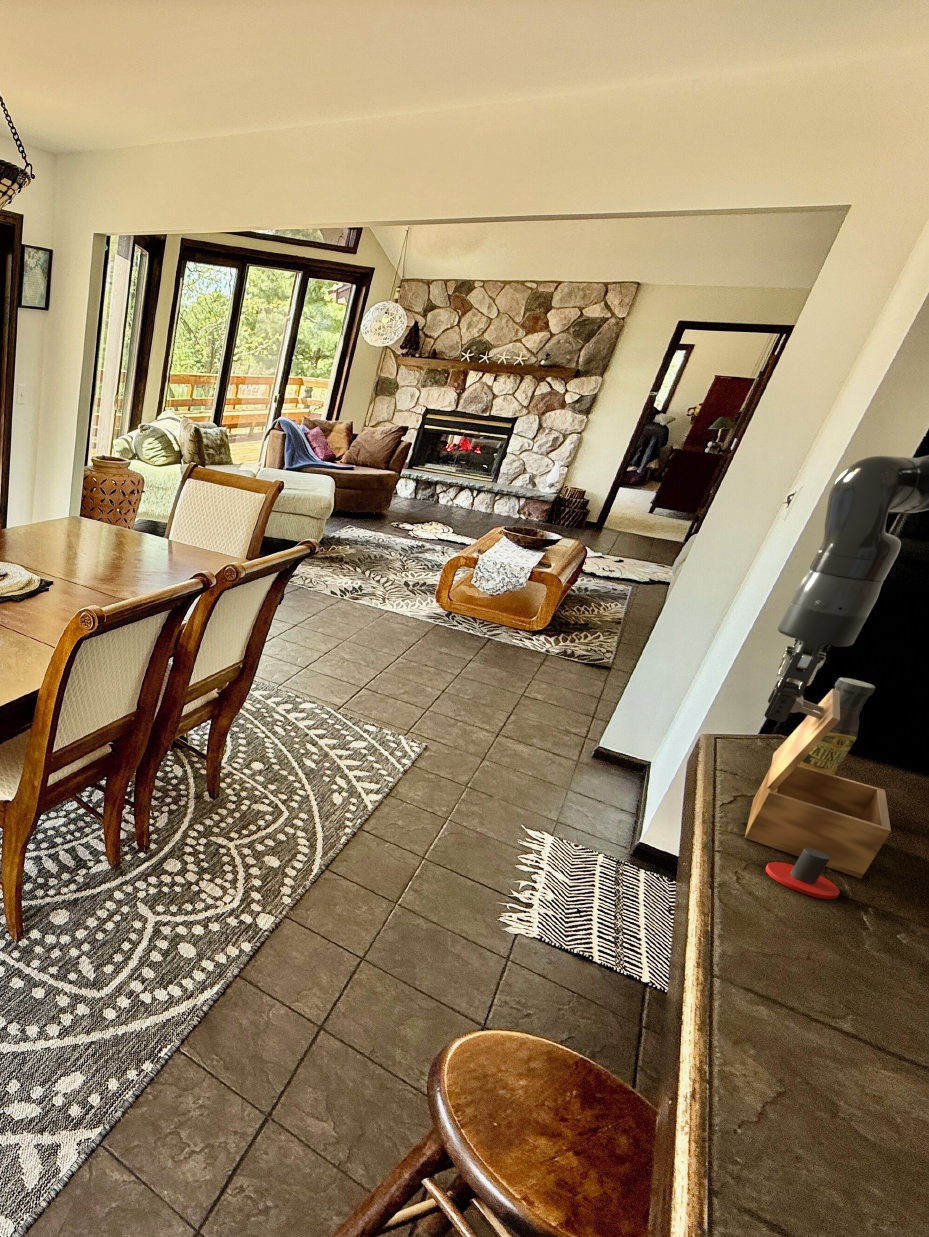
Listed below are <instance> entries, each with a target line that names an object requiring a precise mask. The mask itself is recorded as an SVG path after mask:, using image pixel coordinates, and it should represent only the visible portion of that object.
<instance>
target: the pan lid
mask: <svg viewBox="0 0 929 1237" xmlns="http://www.w3.org/2000/svg"><path fill="white" fill-rule="evenodd" d="M829 860H830V857H829V856H828V855H827V854H825V853H823V852H821V851H819V850H816V849H812V848H805V849H804V850H803V852H802V854H801V855H800V857H798V858H797V860H796V862H795V863H794V864H790V863H787V862H781V861H780V862H779V861H773V862H768V863H767V865H766V866H765V873H767V874H768V876H769V877H770V878H772V879H773V880H774V881H776V882H777V883H779V884H781V885H782V886H785V887H786V888H788V889H790V890H792V891H796V892H798V893H799V894H800V893H801V894H803V895H806V896H809V897H812V898H817V899H823V900H834V899H837V898H838V896H839V895H840V893H841V892H840V889H839V887H838V886H836V884H835V883H833V882H832V881H830V880H828V879H827V878H826V877H824V876H823V875H822V873H823V872H824V870H825V868H827V867H826V865H827V863H828V862H829Z"/></svg>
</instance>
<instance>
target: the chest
mask: <svg viewBox="0 0 929 1237" xmlns="http://www.w3.org/2000/svg"><path fill="white" fill-rule="evenodd" d="M770 770H771V766H770V767H769V768H768V771H767V772H766V775H765V777H764V778H763V781H762V782H761V785H760V786H759V788H758V790H757V791H756V794H755V796H754V797H753V800H752V803H751V808H750V813H749V817H748V821H747V824H746V825H747V826H746V830H745V834H744V838H745V839H746V840H749V841H752V842H755V843H759V844H762V845H764V846H767V847H770V848H773V849H775V850H778V851H780V852H783V853H787V854H790V855H792V856H795V857H798V858H799V857H800V855H801V854H802V852H803V850H804V849H805V848H812V849H816V850H819V851H821V852H823V853H825V854H827V855H828V856H829V857H830V860H829V862H828V863H827V865H826V867H825V868H829V869H831V870H834V871H837V872H839V873H843V874H846V875H848V876H851V877H855V878H857V879H861V880H862V879H863V877H864V875H865V874H866V872H867V870H868V869H869V867H870V865H871V864H872V863H873V861H874V859H875V858H876V856H877V854H878V853H879V851H880V849H881V848H882V847H883V845H884V844H885V842H886V841H887V838H888V837H889V835H890V833H891V832H892V828H891V822H890V816H889V815H890V814H889V809H888V808H889V807H888V801H887V795H886V790H885V789H884V788H880V787H876V786H873V785H869V784H865V783H862V782H859V781H855V780H851V779H850V778H849V779H848V778H845V777H843V776H842V777H841V776H838V775H836V774H834V775H831V774H828V773H825V772H821V771H818V770H814V769H811V768H807V767H804V766H800V765H798V766H797V767H796V768H795V769H794V770H793V771H792V772H791V773H790V774H789V775H788V777H787V778H786V779H785V780H784V781H783V782H782V783H781V784H780V785H779V786H778V787H777V788H776V789H775V790H774V791H773V790H770V789H768V788H767V785H768V780H769V775H770Z"/></svg>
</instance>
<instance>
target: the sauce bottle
mask: <svg viewBox="0 0 929 1237" xmlns="http://www.w3.org/2000/svg"><path fill="white" fill-rule="evenodd" d="M834 689H835V690H838V691H839V695H840V721H839V722H838V723H837V724H836V725H835V726H834V727H833V728H832V729H831V731H830V732H829V733H828V734H827V735H826V736H825V737H824V738H823V739H822V740H821V741H820V742H819V743H818V744H817V746H816V747H815V748H814V749H813V750H812V751H811V752H810V753H809V754H808V755H807V756H806V757H805V758H804V759H803V760H802V762H801V763H800V764H799V765H800V766H804V767H807V768H811V769H814V770H818V771H821V772H825V773H828V774H831V775H836V772H837V771H838V769H839V767H840V765H841V764H842V763H843V761H844V759H845V758H846V757H847V755H848V753H849V751H850V750H851V749H852V746H854V743H855V742H856V740H857V739H858V732H859V727H860V726H859V725H860V715H861V714H860V713H861V711H862V710H863V706H864V705H865V703H866V702H867V700H868V698H869V697H871V696H872V695H873V694H874V693H875V690H876V685H873V684H871V683H868V682H865V681H862V680H859V679H858V680H857V679H854V678H849V677H839V678H838V679H837V681H835V684H834ZM807 716H808V715H807V714H806V716H805V718H804V720H805V719H806V717H807Z"/></svg>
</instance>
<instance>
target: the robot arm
mask: <svg viewBox="0 0 929 1237" xmlns="http://www.w3.org/2000/svg"><path fill="white" fill-rule="evenodd" d="M925 511H929V454H928V455H924V456H920V457H909V456H908V457H906V456H893V455H873V456H868V457H864V458H861V459H859V460H856V462H853V463H851V465H849V466H847V467H846V469H844V470H843V471H842V472H841V473H840V474H839V476H838V477H837V478H836V479H835V481H834V483H833V484H832V487H831V489H830V491H829V494H828V498H827V507H826V512H825V521H824V528H823V541H822V543H821V544H820V546H819V548H818V550H817V552H816V554H815V556H814V558H813V560H812V562H811V564H810V566H809V569H808V570H807V572H806V573H805V575H804V576H803V578H802V579H801V580H800V582H799V584H798V585H797V586H796V589H795V591H794V594H793V596H792V598H791V600H790V601H789V603H788V606H787V608H786V610H785V612H784V614H783V616H782V618H781V620H780V622H779V624H778V626H777V631H778V633H780V634H782V635H784V636H786V637H788V638H791V639H794V643H793V646H791V645H787V646H786V647H785V649H784V652H783V654H782V657H781V660H780V664H779V666H778V672H777V674H776V679H777V680H776V683H775V685H774V687H773V689H772V691H771V693H770V695H769V697H768V699H767V703H768V705H767V708H766V710H765V712H764V715H763V716H764V717H765V718H766V719H769V720H771V721H777V722H778V723H779V722H780V723H783V722H785V721H787V719H788V717H789V715H790V713H791V712H790V711H791V709H792V707H793V705H794V703H795V701H796V700H797V699H799V698H800V697H801V696H803V697H804V694H805V689H806V687H808V686H810V685H811V684H812V683H813V681H814V678H815V677H816V675H817V672H818V670H820V669H821V668H822V667H823V665H824V663H825V661H826V658H827V657H826V656H827V653H825V652H821V651H822V650H823V648H824V647H825V646H832V647H838V648H840V647H841V648H843V647H846V648H847V647H849V646H852V645H854V643H855V641H856V639H857V638H858V636H859V634H860V632H861V630H862V628H863V626H864V624H866V621H867V619H868V617H869V615H870V613H871V611H872V610H873V607H874V606H875V604H876V602H877V600H878V599H879V595H880V592H881V588H882V586H883V584H884V581H885V580H886V579H887V576H888V574H889V572H890V570H891V568H892V567H893V565H894V563H895V561H896V559H897V557H898V555H899V553H900V551H901V550H900V549H901V546H902V542H901V540H900V539H899V537H897V536H895V535H893V534H891V533H887V531H886V525H887V520H888V515H889V514H893V515H905V514H915V513H919V512H925Z"/></svg>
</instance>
